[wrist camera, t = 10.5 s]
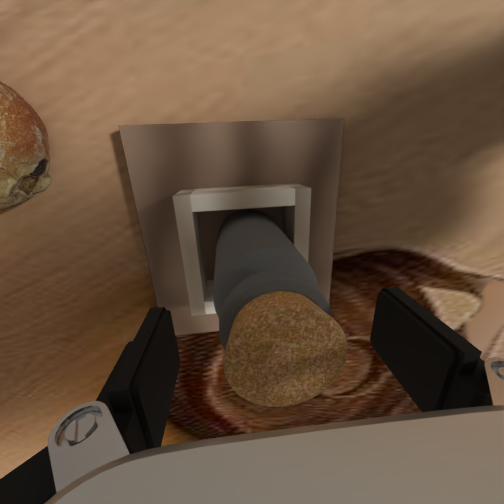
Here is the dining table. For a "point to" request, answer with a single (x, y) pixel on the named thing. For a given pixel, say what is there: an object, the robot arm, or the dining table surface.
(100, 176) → the dining table surface
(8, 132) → the bread roll
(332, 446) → the robot arm
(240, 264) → the bottle
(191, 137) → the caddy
